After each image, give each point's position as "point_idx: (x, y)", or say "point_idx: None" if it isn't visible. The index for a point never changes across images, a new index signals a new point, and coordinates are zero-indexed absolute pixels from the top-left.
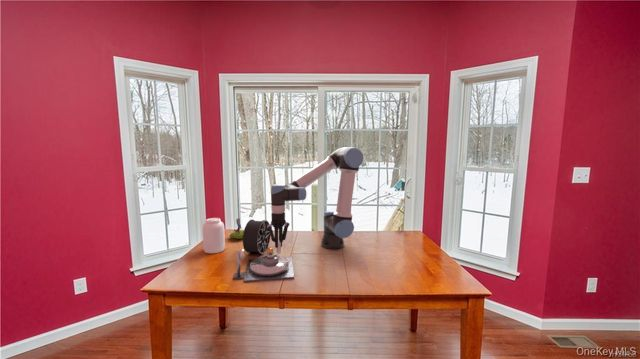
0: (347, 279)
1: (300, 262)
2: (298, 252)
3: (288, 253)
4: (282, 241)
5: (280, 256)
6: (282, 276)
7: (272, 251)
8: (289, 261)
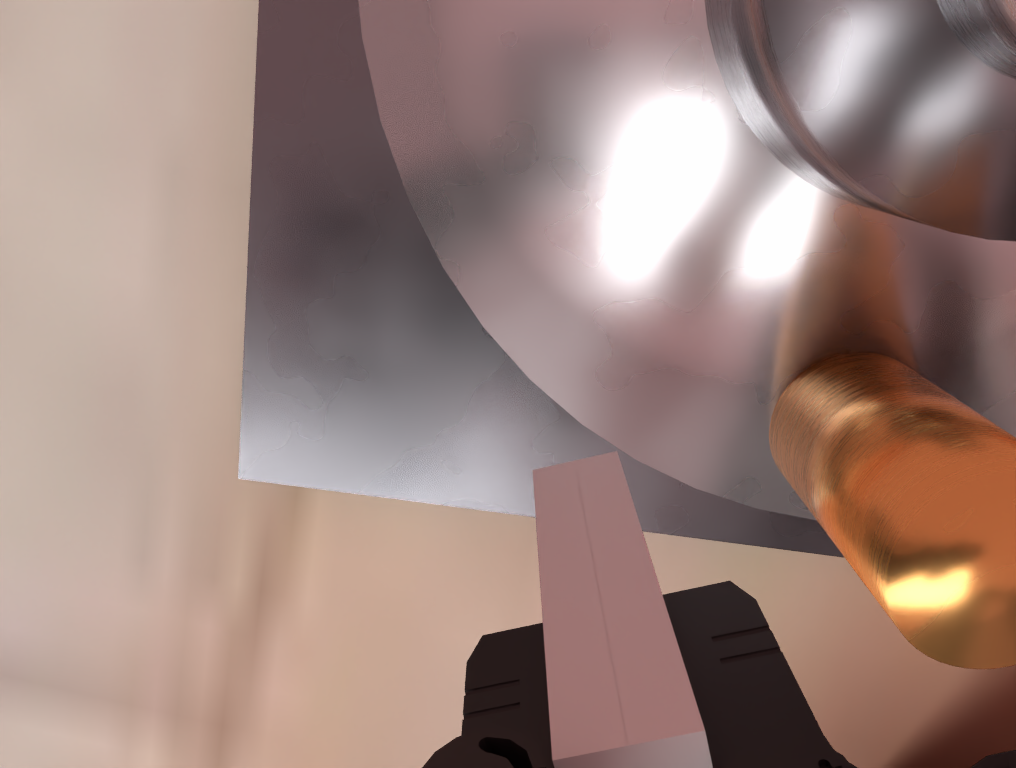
0: None
1: (37, 178)
2: (60, 725)
3: (291, 732)
4: (453, 762)
5: (552, 384)
6: None
7: (868, 463)
8: (320, 223)
